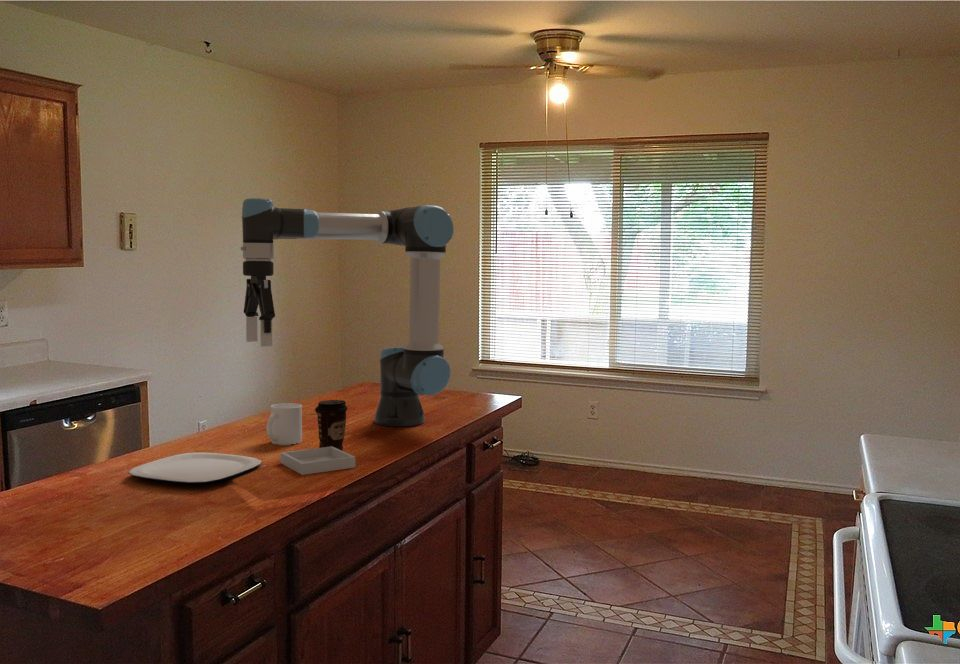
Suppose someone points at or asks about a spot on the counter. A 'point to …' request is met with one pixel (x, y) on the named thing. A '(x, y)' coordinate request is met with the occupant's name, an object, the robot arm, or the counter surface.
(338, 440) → the coffee cup
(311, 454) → the gray square tray
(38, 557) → the counter surface
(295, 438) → the mug
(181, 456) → the plate
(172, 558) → the counter surface
